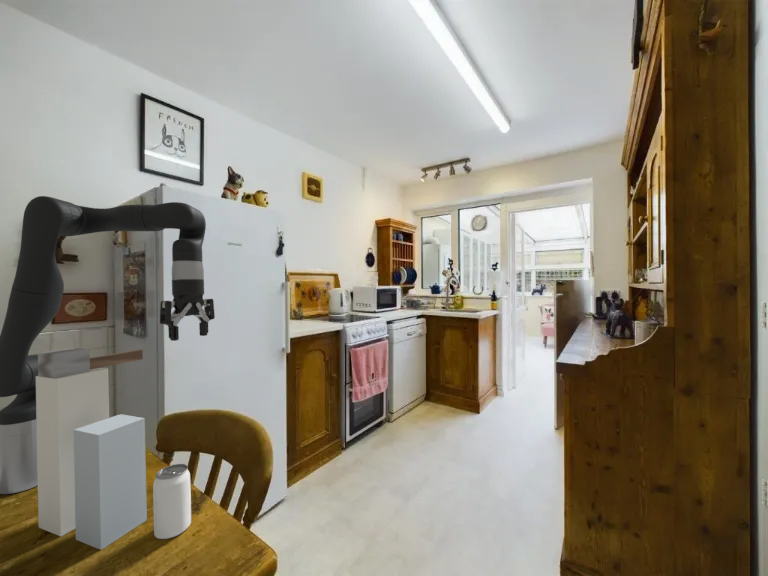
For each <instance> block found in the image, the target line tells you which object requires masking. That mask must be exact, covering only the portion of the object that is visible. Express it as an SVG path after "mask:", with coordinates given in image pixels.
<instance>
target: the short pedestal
mask: <svg viewBox="0 0 768 576" xmlns="http://www.w3.org/2000/svg"><path fill="white" fill-rule="evenodd" d="M146 455H147V454H146V419H145V417H140V416H139V417H138V416H135V415H134V416H133V415H127V414H122V413H121V414H117V415H114V416H109V418H107V419H104V420H101V421H98V422H95V423H92V424H89V425H86V426H83V427H80V428H77V429H74V473H75V523H76V528H75V540H76V541H78V542H81V543H84V544H85V545H88V546H90V547H93V548H95V549H98V550H100V551H102V550H104V549H105V548H106V547H108V546H109V545H111V544H113V543H114V542H116V541H117V540H118V539H121V538H122V537H123V536H126V534H128V533H129V532H131V531H132V530H134V529H136V528H137V527H140V525H142V524H143V523H145V522H146V521H148V513H147V512H148V511H147V510H148V509H147V507H148V506H147V504H148V503H147V474H146V473H147V462H146Z"/></svg>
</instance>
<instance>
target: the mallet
mask: <svg viewBox="0 0 768 576" xmlns="http://www.w3.org/2000/svg"><path fill="white" fill-rule="evenodd" d="M90 350H91V349H90V348H83V347H82V348H81V347H79V348H78V347H71V348H64V349H62V348H61V349H55V350H49V351H41V352H38V353H37V354H38V377H46V378H54V379H56V378H61V377H65V376H70V375H75V374H80V373H85V372H90V370H91V369H96V368H106V367H110V366H115V365H120V364H126V363H130V362H135V361H139V360H140V361H141V360H143V359H144V358H143V357H144V356H143V355H144V354H143V349H134V350H133V349H132V350H126V351H122V352H116V353H115V352H114V353H111V354H110V353H109V354H105V355H104V354H103V355H98V356H92V357H90V355H91V353H90V352H91V351H90Z"/></svg>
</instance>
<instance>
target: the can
mask: <svg viewBox="0 0 768 576" xmlns="http://www.w3.org/2000/svg"><path fill="white" fill-rule="evenodd" d="M152 484H153V485H152V495H153V496H152V497H153V499H152V501H153V505H152V506H153V535H154V537H155V538H156V539H158V540H164V539H165V540H169V539H173V538H175V537H178V536H180V535H181V534H183V533H184V532H185V531H186V530H187V529H188V528H189V527H190V525H191V523H192V498H191V492H192V491H191V473H190V471H189V469H188V465H187V464H185V463H175V464H172V465H168V466H166V467H163V468H161V469H160V470H158V471H157V472H156V473H155V478H154V481H153V483H152Z"/></svg>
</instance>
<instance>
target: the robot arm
mask: <svg viewBox="0 0 768 576" xmlns="http://www.w3.org/2000/svg"><path fill="white" fill-rule="evenodd" d="M206 225H207V224H206V218H205V215H204V214H203V212H201V210H199V209H197V208H196V207H193V206H192V205H189V204H188V203H185V202H179V201H177V202H176V201H175V202H174V201H173V202H163V203H158V204H124V205H118V206H114V207H113V206H112V207H110V208H107V207H106V208H96V207H95V208H94V207H89V206H83V205H77V204H74V203H72V202H69V201H66V200H62V199H60V198H55V197H52V196H46V195H41V196H35V197H34V198H33V199H30V201H28V202H27V205H26V206H25V209H24V212H23V218H22V227H21V228H22V229H21V239H20V240H21V241H20V249H19V256H18V260H17V266H16V270H15V276H14V279H13V283H12V286H11V290H10V294H9V297H8V298H9V299H8V303H7V309H6V313H5V317H4V322H3V324H2V328H1V331H0V332H1V333H0V398H5V397H11V396H15V395H16V397H15V398H14V399H13V400H12V401H11V402H10V403H8V405H6V406H5V407H3V408H2V409H0V495H9V494H10V495H11V494H15V493H16V494H17V493H20V492H25V491H27V490H29V489H32V488H35V487H38V472H37V420H36V376H38V353H37V354H29V353H30V350H31V348H32V345H33V344H34V341H35V340H36V338H37V337H38V336H39V335H40V334H41V332H42V331H43V330H44V329H45V328H46V327H47V326H48V325H49V324H50V323H51V322H52V320H53V319H54V318H55V316H56V315H57V314H58V312H59V310H60V308H61V304H62V299H63V295H64V290H65V284H64V283H65V282H64V279H63V276H62V273H61V271H60V267H59V266H58V263H57V257H56V250H57V244H58V241H59V240H58V239H59V236H61V237H75V236H81V235H87V234H95V233H102V232H160V231H164V230H166V229H171V230H172V229H173V230H174V229H175V230H179V233H178V239H176V240H175V241H173V242H172V245H171V246H172V248H171V254H172V255H171V257H172V259H171V260H172V264H171V295H172V297H173V299H172V300H161V301H160V303H159V304H160V305H159V306H160V309H159V310H160V311H159V312H160V313H159V323H160V324H159V325H165V326H167V327H168V338H169V339H170V341H173V342H174V341H179V337H180V336H179V325H178V324H179V323H180V321H181V320H182V319H184V318H185V317H190V316H194V317H196V318H197V319H198V321H199V325H198V327H199V336H201V337H204V336H208V333H209V322H210V321H211V320H214V319H215V305H214V304H215V303H214V299H213V298H203V297H204V295H205V273H204V272H205V271H204V265H203V244H204V240H205V234H206V229H207V228H206V227H207V226H206ZM203 307H204V308H203ZM173 308H174V310H172V309H173Z"/></svg>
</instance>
